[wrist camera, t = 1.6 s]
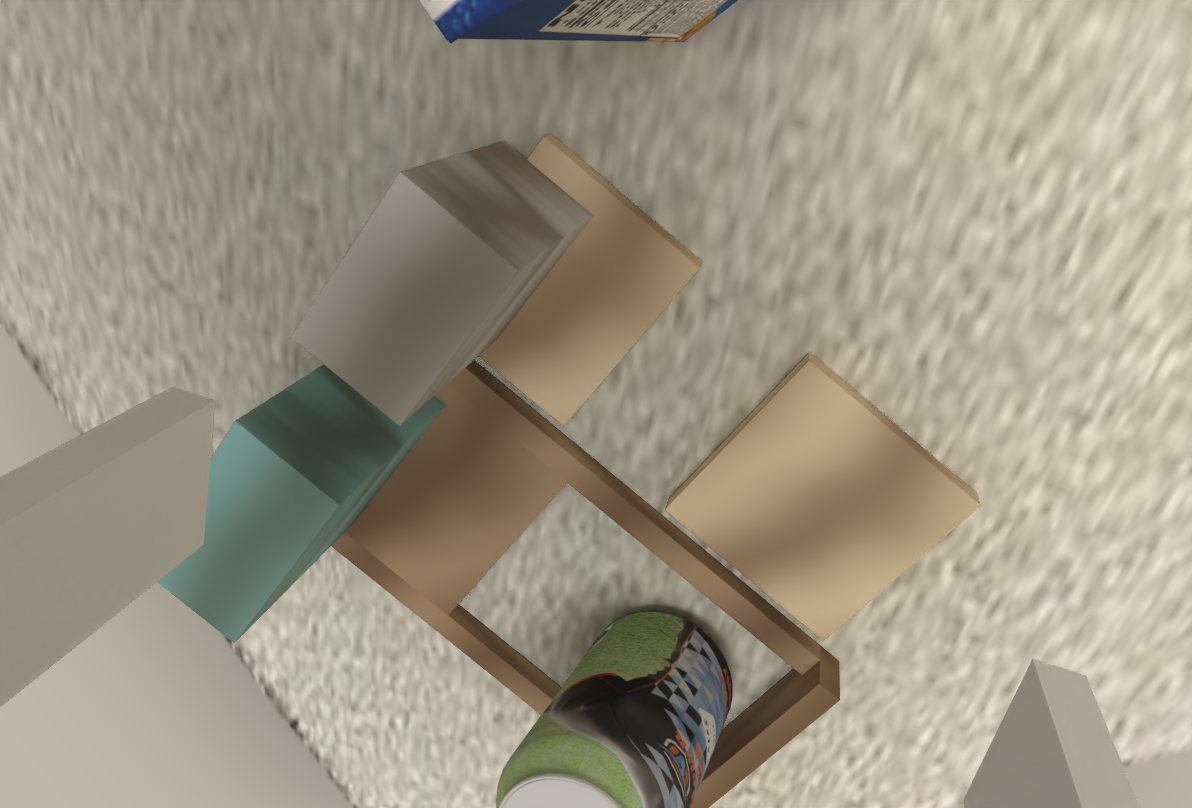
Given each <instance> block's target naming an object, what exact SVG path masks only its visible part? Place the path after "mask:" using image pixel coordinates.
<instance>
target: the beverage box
mask: <svg viewBox="0 0 1192 808" xmlns="http://www.w3.org/2000/svg"><path fill="white" fill-rule="evenodd" d="M419 1H420V2H421V3H422V5H423V6H424V8H425V9H426V11H427V12H428V14H429V15H430V16H431V18H432V19H433V21H434V22H435V24H436V25H437V27H438V28H439V29H440V31H441V32H442V34H443V35H444V37H445V38H446V39H447V40H448V41H449V42H450V43H452V42H454V41H455V40H457V39H524V40H591V41H659V42H684V41H685V40H687V39H688V38H689V37H691V36H692V35H693V34H694V33H696V32H697V31H698V30H700V29H701V28H702V27H704V26H705V25H706V24H708V23H709V22H710V21H711V20H713V19H714V18H715V17H717V16H718V15H719V14H721V13H722V12H723V11H725V10H726V9H727V8H728V7H730V6H731V5H732V4H734V3H735V2H736V1H738V0H419Z"/></svg>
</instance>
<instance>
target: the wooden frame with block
mask: <svg viewBox="0 0 1192 808" xmlns="http://www.w3.org/2000/svg"><path fill="white" fill-rule="evenodd" d="M567 482H568V483H569V484H570V485H571V486H572V487H574V488H575V489H576V490H577V491H579V492H580V493H581V494H582V495H583V496H585V497H586V498H587V499H588V500H590V501H591V502H592V503H593V504H594V505H596V506H597V507H598V508H599V509H600V510H602V511H603V512H604V513H605V514H607V515H608V516H609V517H610V518H611V519H613V520H614V521H615V522H616V523H618V524H619V525H620V526H621V527H622V528H624V529H625V530H626V531H627V532H628V533H630V534H631V535H632V536H633V537H635V538H636V539H637V540H638V541H639V542H641V543H642V544H643V545H644V546H645V547H647V548H648V549H649V550H650V551H652V552H653V553H654V554H655V555H656V556H658V557H659V558H660V559H661V560H663V561H664V562H665V563H666V564H667V565H669V566H670V567H671V568H672V569H673V570H675V571H676V572H677V573H678V574H680V575H681V576H682V577H683V578H684V579H686V580H687V581H688V582H689V583H691V584H692V585H693V586H694V587H695V588H697V589H698V590H699V591H700V592H701V593H703V594H704V595H705V596H706V597H708V598H709V599H710V600H711V601H712V602H714V603H715V604H716V605H717V606H718V607H720V608H721V609H722V610H723V611H725V612H726V613H727V614H728V615H729V616H731V617H732V618H733V619H734V620H736V621H737V622H738V623H739V624H740V625H742V626H743V627H744V628H745V629H746V630H748V631H749V632H750V633H751V634H753V635H754V636H755V637H756V638H757V639H759V640H760V641H761V642H762V643H764V644H765V645H766V646H767V647H768V648H770V649H771V650H772V651H773V652H774V653H776V654H777V655H778V656H779V657H781V658H782V659H783V660H784V661H785V662H787V663H788V664H789V665H790V666H791V667H793V668H794V669H793V670H792V671H791V672H789V673H788V674H787V675H786V676H785V677H784V678H782V679H781V680H780V681H779V682H778V683H777V684H775V685H774V686H773V687H772V688H771V689H770V690H768V691H767V692H766V693H765V694H764V695H763V696H761V697H760V698H759V699H758V700H757V701H756V702H754V703H753V704H752V705H751V706H750V707H749V708H747V709H746V710H745V711H744V712H743V713H742V714H740V715H739V716H738V717H737V718H736V719H735V720H733V721H732V722H731V723H730V724H729V725H728V726H726V727H725V728H724V729H723V730H722V731H721V733H720V735H719V738H718V740H717V743H716V745H715V748H714V750H713V753H712V756H711V758H710V761H709V763H708V766H707V768H706V771H705V773H704V776H703V778H702V781H701V783H700V786H699V789H698V791H697V794H696V796H695V799H694V801H693V804H692V806H691V808H709V807H710V806H711V805H712V804H713V803H715V802H716V801H717V800H718V799H720V798H721V797H722V796H723V795H724V794H726V793H727V792H728V791H729V790H731V789H732V788H733V787H734V786H735V785H737V784H738V783H739V782H740V781H742V780H743V779H744V778H745V777H746V776H748V775H749V774H750V773H751V772H753V771H754V770H755V769H756V768H757V767H759V766H760V765H761V764H762V763H764V762H765V761H766V760H767V759H768V758H770V757H771V756H772V755H773V754H775V753H776V752H777V751H778V750H780V749H781V748H782V747H783V746H784V745H786V744H787V743H788V742H789V741H791V740H792V739H793V738H794V737H795V736H797V735H798V734H799V733H800V732H802V731H803V730H804V729H805V728H806V727H808V726H809V725H810V724H811V723H813V722H814V721H815V720H816V719H817V718H819V717H820V716H821V715H822V714H824V713H825V712H826V711H827V710H828V709H830V708H831V707H832V706H833V705H835V704H836V703H837V702H838V701H839V700H840V679H839V661H838V660H837V659H835V658H834V657H833V656H832V655H831V654H829V653H828V652H827V651H826V650H824V649H823V648H822V647H821V646H820V645H818V644H817V643H816V642H815V641H814V640H812V639H811V638H810V637H809V636H808V635H806V634H805V633H804V632H803V631H801V630H800V629H799V628H798V627H797V626H795V625H794V624H793V623H792V622H791V621H789V620H788V619H787V618H786V617H784V616H783V615H782V614H781V613H780V612H778V611H777V610H776V609H775V608H774V607H772V606H771V605H770V604H769V603H768V602H766V601H765V600H764V599H763V598H761V597H760V596H759V595H758V594H757V593H755V592H754V591H753V590H752V589H751V588H749V587H748V586H747V585H746V584H744V583H743V582H742V581H741V580H740V579H738V578H737V577H736V576H735V575H734V574H732V573H731V572H730V571H729V570H728V569H726V568H725V567H724V566H723V565H721V564H720V563H719V562H718V561H717V560H715V559H714V558H713V557H712V556H711V555H709V554H708V553H707V552H706V551H704V550H703V549H702V548H701V547H700V546H698V545H697V544H696V543H695V542H694V541H692V540H691V539H690V538H689V537H688V536H686V535H685V534H684V533H683V532H681V531H680V530H679V529H678V528H677V527H675V526H674V525H673V524H672V523H671V522H669V521H668V520H667V519H666V518H664V517H663V516H662V515H661V514H660V513H658V512H657V511H656V510H655V509H654V508H652V507H651V506H650V505H649V504H648V503H646V502H645V501H644V500H643V499H641V498H640V497H639V496H638V495H637V494H635V493H634V492H633V491H632V490H631V489H629V488H628V487H627V486H626V485H624V484H623V483H622V482H621V481H620V480H618V479H617V478H616V477H615V476H614V475H612V474H611V473H610V472H609V471H608V470H606V469H605V468H604V467H603V466H601V465H600V464H599V463H598V462H597V461H595V460H594V459H593V458H592V457H591V456H589V455H588V454H587V453H586V452H584V451H583V450H582V449H581V448H580V447H578V446H577V445H576V444H575V443H574V442H572V441H571V440H570V439H569V438H568V437H566V436H565V435H564V434H563V433H561V432H560V431H559V430H558V429H557V428H555V427H554V426H553V425H552V424H551V423H549V422H548V421H547V420H546V419H544V418H543V417H542V416H541V415H540V414H538V413H537V412H536V411H535V410H534V409H532V408H531V407H530V406H529V405H528V404H526V403H525V402H524V401H523V400H521V399H520V398H519V397H518V396H517V395H515V394H514V393H513V392H512V391H511V390H509V389H508V388H507V387H506V386H504V385H503V384H502V383H501V382H500V381H498V380H497V379H496V378H495V377H494V376H492V375H491V374H490V373H489V372H488V371H486V370H485V369H484V368H483V367H481V366H480V365H479V364H478V363H477V362H475V361H474V360H473V361H472V362H471V363H470V364H469V365H468V366H467V367H465V368H464V369H463V370H462V371H461V372H460V373H459V374H458V375H456V376H455V377H454V378H453V379H452V380H451V381H450V382H449V383H447V384H446V385H445V386H444V387H443V388H442V389H441V390H440V391H439V392H437V393H436V394H435V395H434V396H433V397H432V398H431V399H430V400H428V401H427V402H426V403H425V404H424V405H423V406H422V407H421V408H419V409H418V410H417V411H416V412H415V413H414V414H413V415H412V416H410V417H409V418H408V419H407V420H406V421H405V422H404V423H403V424H401V425H400V426H399V425H398V424H397V423H395V422H394V421H393V420H392V419H390V418H389V417H388V416H387V415H386V414H384V413H383V412H382V411H381V410H379V409H378V408H377V407H376V406H374V405H373V404H372V403H371V402H370V401H368V400H367V399H366V398H365V397H363V396H362V395H361V394H360V393H359V392H357V391H356V390H355V389H354V388H352V387H351V386H350V385H349V384H348V383H346V382H345V381H344V380H343V379H341V378H340V377H339V376H338V375H337V374H335V373H334V372H333V371H332V370H330V369H329V368H328V367H327V366H325V365H323V366H321V367H319V368H318V369H316V370H315V371H313V372H312V373H310V374H308V375H307V376H305V377H304V378H302V379H301V380H299V381H297V382H296V383H294V384H293V385H291V386H290V387H288V388H286V389H285V390H283V391H282V392H280V393H279V394H277V395H275V396H274V397H272V398H271V399H269V400H268V401H266V402H264V403H263V404H261V405H260V406H258V407H257V408H255V409H253V410H252V411H250V412H249V413H247V414H245V415H244V416H242V417H241V418H239V419H238V420H236V421H235V422H234V424H233V425H232V427H231V428H230V430H229V431H228V433H227V434H226V436H225V437H224V439H223V440H222V442H221V443H220V445H219V446H218V448H217V449H216V451H215V452H214V454H213V455H212V457H211V461H210V473H209V485H208V498H207V510H206V523H205V535H204V545H203V546H201V547H200V548H199V549H198V550H196V551H195V552H194V553H192V554H191V555H190V556H189V557H187V558H186V559H185V560H184V561H182V562H181V563H180V564H179V565H177V566H176V567H175V568H174V569H172V570H171V571H170V572H169V573H167V574H166V575H165V576H164V577H162V578H161V579H160V580H159V581H157V582H158V583H159V584H161V585H162V586H163V587H164V588H166V589H167V590H168V591H169V592H170V593H172V594H173V595H174V596H175V597H177V598H178V599H180V600H181V601H182V602H183V603H184V604H186V605H187V606H188V607H189V608H191V609H192V610H193V611H194V612H196V613H197V614H198V615H199V616H201V617H202V618H203V619H205V620H206V621H207V622H208V623H210V624H211V625H212V626H213V627H215V628H216V629H217V630H218V631H220V632H221V633H222V634H223V635H225V636H226V637H227V638H228V639H230V640H231V641H232V642H233V643H235V642H236V641H237V640H238V639H239V638H240V637H241V636H242V635H243V634H244V633H245V632H246V631H247V630H248V629H249V628H250V627H251V626H252V625H253V624H254V623H255V622H256V621H257V620H258V619H259V618H260V617H261V616H262V615H263V614H264V613H265V612H266V611H267V610H268V609H269V608H270V607H271V606H272V605H273V604H274V603H275V602H276V601H277V600H278V599H279V598H280V597H281V596H282V595H283V594H284V593H285V592H286V591H287V590H288V589H289V587H290V586H291V585H292V584H293V583H294V582H295V581H296V580H297V579H298V578H299V577H300V576H301V575H302V574H303V573H304V572H305V571H306V570H307V569H308V568H309V567H310V566H311V565H312V564H313V563H314V562H315V561H316V560H317V559H318V558H319V557H320V556H321V555H322V554H323V553H324V552H325V551H326V550H327V549H328V548H329V547H330V546H332V547H333V548H334V549H336V550H337V551H338V552H339V553H341V554H342V555H343V556H344V557H345V558H347V559H348V560H349V561H350V562H352V563H353V564H354V565H355V566H357V567H358V568H359V569H360V570H362V571H363V572H364V573H365V574H367V575H368V576H369V577H370V578H372V579H373V580H374V581H375V582H377V583H378V584H379V585H380V586H382V587H383V588H384V589H385V590H387V591H388V592H389V593H390V594H391V595H393V596H394V597H395V598H396V599H398V600H399V601H400V602H401V603H403V604H404V605H405V606H406V607H408V608H409V609H410V610H411V611H413V612H414V613H415V614H416V615H418V616H419V617H420V618H421V619H423V620H424V621H425V622H426V623H428V624H429V625H430V626H431V627H432V628H434V629H435V630H436V631H437V632H439V633H440V634H441V635H442V636H444V637H445V638H446V639H447V640H449V641H450V642H451V643H452V644H454V645H455V646H456V647H457V648H459V649H460V650H461V651H462V652H464V653H465V654H466V655H467V656H469V657H470V658H471V659H472V660H474V661H475V662H476V663H477V664H478V665H480V666H481V667H482V668H483V669H485V670H486V671H487V672H488V673H490V674H491V675H492V676H493V677H495V678H496V679H497V680H498V681H500V682H501V683H502V684H503V685H505V686H506V687H507V688H508V689H510V690H511V691H512V692H513V693H515V694H516V695H517V696H518V697H519V698H521V699H522V700H523V701H524V702H526V703H527V704H528V705H529V706H531V707H532V708H533V709H534V710H536V711H537V712H538V713H539V714H541V715H542V714H543V712H544V711H545V710H546V708H547V707H548V705H549V704H550V703H551V701H552V700H553V699H554V697H555V696H556V695H557V693H558V692H559V690H560V689H561V687H560V686H558V685H557V684H556V683H555V682H553V681H552V680H551V679H550V678H548V677H547V676H546V675H545V674H544V673H542V672H541V671H540V670H539V669H537V668H536V667H535V666H534V665H532V664H531V663H530V662H529V661H527V660H526V659H525V658H524V657H522V656H521V655H520V654H519V653H518V652H516V651H515V650H514V649H513V648H511V647H510V646H509V645H508V644H506V643H505V642H504V641H503V640H501V639H500V638H499V637H498V636H496V635H495V634H494V633H493V632H492V631H490V630H489V629H488V628H487V627H485V626H484V625H483V624H482V623H480V622H479V621H478V620H477V619H475V618H474V617H473V616H472V615H470V614H469V613H468V612H467V611H466V610H464V609H463V608H462V607H461V606H459V605H458V604H459V603H460V602H461V600H462V599H463V598H464V597H465V596H466V595H467V594H468V593H469V591H470V590H471V589H472V588H473V587H474V586H475V585H476V584H477V582H478V581H479V580H480V579H481V578H482V577H483V576H484V575H485V573H486V572H487V571H488V570H489V569H490V568H491V567H492V566H493V565H494V563H495V562H496V561H497V560H498V559H499V558H500V557H501V556H502V554H503V553H504V552H505V551H506V550H507V549H508V548H509V547H510V545H511V544H512V543H513V542H514V541H515V540H516V539H517V538H518V536H519V535H520V534H521V533H522V532H523V531H524V530H525V529H526V527H527V526H528V525H529V524H530V523H531V522H532V521H533V520H534V518H535V517H536V516H537V515H538V514H539V513H540V512H541V511H542V510H543V508H544V507H545V506H546V505H547V504H548V503H549V502H550V501H551V499H552V498H553V497H554V496H555V495H556V494H557V493H558V492H559V490H560V489H561V488H562V487H563V486H564V485H565V484H566V483H567Z"/></svg>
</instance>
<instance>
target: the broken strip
mask: <svg viewBox="0 0 1192 808" xmlns="http://www.w3.org/2000/svg"><path fill="white" fill-rule="evenodd" d="M702 263H703V262H702V261H701V260H700V259H699V258H697V257H696V256H695V255H694V254H693V253H691V252H690V251H689V250H688V249H687V248H686V247H684V246H683V245H682V244H681V243H680V242H678V241H677V240H676V239H675V238H674V237H672V236H671V235H670V234H669V233H668V232H667V231H665V230H664V229H663V228H662V227H661V226H659V225H658V224H657V223H656V222H655V221H654V220H652V219H651V218H650V217H649V216H648V215H646V214H645V213H644V212H643V211H642V210H641V209H639V208H638V207H637V206H636V205H635V204H633V203H632V202H631V201H630V200H629V199H627V198H626V197H625V196H624V195H623V194H622V193H620V192H619V191H618V190H617V189H616V188H614V187H613V186H612V185H611V184H610V183H609V182H607V181H606V180H605V179H604V178H603V177H601V176H600V175H599V174H598V173H597V172H596V171H594V170H593V169H592V168H591V167H590V166H588V165H587V164H586V163H585V162H584V161H583V160H581V159H580V158H579V157H578V156H577V155H575V154H574V153H573V152H572V151H571V150H569V149H568V148H567V147H566V146H565V145H564V144H562V143H561V142H560V141H559V140H558V139H556V138H555V137H554V136H553V135H552V134H550V135H547V136H544V137H543V138H542V139H541V141H540V142H539V143H538V145H537V146H536V148H535V149H534V150H533V152H532V153H531V155H530V156H529V157H528V159H526V158H524V157H523V156H522V155H521V154H520V153H518V152H517V151H516V150H515V149H514V148H512V147H511V146H510V145H509V144H508V143H506V142H505V141H502V142H499V143H496V144H492V145H489V146H485V147H482V148H479V149H475V150H472V151H469V152H465V153H462V154H459V155H455V156H452V157H449V158H445V159H442V160H439V161H435V162H432V163H429V164H425V165H422V166H419V167H415V168H412V169H408V170H405V171H402V172H400V173H399V174H398V176H397V177H396V179H395V180H394V182H393V183H392V185H391V186H390V188H389V189H388V191H387V192H386V194H385V196H384V197H383V199H382V200H381V202H380V203H379V205H378V206H377V208H376V209H375V211H374V212H373V214H372V215H371V217H370V218H369V220H368V221H367V223H366V224H365V226H364V227H363V229H362V230H361V232H360V233H359V235H358V236H357V238H356V239H355V241H354V242H353V244H352V245H351V247H350V248H349V250H348V251H347V253H346V254H345V256H344V257H343V259H342V260H341V262H340V263H339V265H338V266H337V268H336V270H335V271H334V273H333V274H332V276H331V277H330V279H329V280H328V282H327V283H326V285H325V286H324V288H323V289H322V291H321V292H320V294H319V295H318V297H317V298H316V300H315V301H314V303H313V304H312V306H311V307H310V309H309V310H308V312H307V313H306V315H305V316H304V318H303V319H302V321H301V322H300V324H299V325H298V327H297V328H296V330H295V331H294V333H293V334H292V336H291V338H292V339H294V340H295V341H296V342H297V343H299V344H300V345H301V346H302V347H303V348H305V349H306V350H307V351H308V352H310V353H311V354H312V355H313V356H314V357H316V358H317V359H318V360H319V361H321V362H322V363H323V364H324V365H325V366H327V367H328V368H329V369H330V370H332V371H333V372H334V373H335V374H337V375H338V376H339V377H340V378H341V379H343V380H344V381H345V382H346V383H348V384H349V385H350V386H351V387H352V388H354V389H355V390H356V391H357V392H359V393H360V394H361V395H362V396H363V397H365V398H366V399H367V400H368V401H370V402H371V403H372V404H373V405H374V406H376V407H377V408H378V409H379V410H381V411H382V412H383V413H384V414H386V415H387V416H388V417H389V418H390V419H392V420H393V421H394V422H395V423H397V424H398V425H399V426H400V425H401V424H403V423H404V422H405V421H406V420H407V419H408V418H409V417H410V416H412V415H413V414H414V413H415V412H416V411H417V410H418V409H419V408H421V407H422V406H423V405H424V404H425V403H426V402H427V401H428V400H430V399H431V398H432V397H433V396H434V395H435V394H436V393H437V392H439V391H440V390H441V389H442V388H443V387H444V386H445V385H446V384H447V383H449V382H450V381H451V380H452V379H453V378H454V377H455V376H456V375H458V374H459V373H460V372H461V371H462V370H463V369H464V368H465V367H467V366H468V365H469V364H470V363H471V362H472V361H473V360H474V359H476V358H477V357H478V356H479V357H480V358H482V359H483V360H484V361H485V362H486V363H488V364H489V365H490V366H491V367H492V368H494V369H495V370H496V371H497V372H499V373H500V374H501V375H502V376H503V377H505V378H506V379H507V380H508V381H509V382H511V383H512V384H513V385H514V386H515V387H517V388H518V389H519V390H520V391H522V392H523V393H524V394H525V395H526V396H528V397H529V398H530V399H531V400H532V401H534V402H535V403H536V404H537V405H538V406H540V407H541V408H542V409H543V410H545V411H546V412H547V413H548V414H549V415H551V416H552V417H553V418H554V419H555V420H557V421H558V422H559V423H560V424H562V425H563V426H564V425H565V424H566V423H567V422H568V421H569V420H570V418H571V417H572V416H573V415H574V414H575V413H576V411H577V410H578V409H579V408H580V407H581V406H582V405H583V403H584V402H585V401H586V400H587V399H588V398H589V396H590V395H591V394H592V393H593V392H594V391H595V389H596V388H597V387H598V386H599V385H600V384H601V382H602V381H603V380H604V379H605V378H606V377H607V375H608V374H609V373H610V372H611V371H612V370H613V368H614V367H615V366H616V365H617V364H618V363H619V361H620V360H621V359H622V358H623V357H624V356H625V354H626V353H627V352H628V351H629V350H630V349H631V348H632V346H633V345H634V344H635V343H636V342H637V341H638V339H639V338H640V337H641V336H642V335H643V334H644V332H645V331H646V330H647V329H648V328H649V327H650V325H651V324H652V323H653V322H654V321H655V320H656V318H657V317H658V316H659V315H660V314H661V313H662V311H663V310H664V309H665V308H666V307H667V306H668V304H669V303H670V302H671V301H672V300H673V299H674V297H675V296H676V295H677V294H678V293H679V292H680V291H681V289H682V288H683V287H684V286H685V285H686V284H687V282H688V281H689V280H690V279H691V278H692V277H693V275H694V274H695V273H696V272H697V271H698V270H699V268H700V267H701V265H702ZM980 506H981V504H980V501H979V498H978V495H977V493H976V492H974V491H973V490H972V489H971V488H970V487H968V486H967V485H966V484H965V483H964V482H963V481H961V480H960V479H959V478H958V477H957V476H955V475H954V474H953V473H952V472H951V471H950V470H948V469H947V468H946V467H945V466H944V465H942V464H941V463H940V462H939V461H938V460H936V459H935V458H934V457H933V456H932V455H931V454H929V453H928V452H927V451H926V450H925V449H923V448H922V447H921V446H920V445H919V444H918V443H916V442H915V441H914V440H913V439H912V438H910V437H909V436H908V435H907V434H906V433H905V432H903V431H902V430H901V429H900V428H899V427H897V426H896V425H895V424H894V423H893V422H891V421H890V420H889V419H888V418H887V417H886V416H884V415H883V414H882V413H881V412H880V411H878V410H877V409H876V408H875V407H874V406H873V405H871V404H870V403H869V402H868V401H867V400H865V399H864V398H863V397H862V396H861V395H860V394H858V393H857V392H856V391H855V390H854V389H852V388H851V387H850V386H849V385H848V384H847V383H845V382H844V381H843V380H842V379H841V378H839V377H838V376H837V375H836V374H835V373H833V372H832V371H831V370H830V369H829V368H828V367H826V366H825V365H824V364H823V363H822V362H820V361H819V360H818V359H817V358H816V357H815V356H813V355H812V354H811V353H809V354H808V355H807V356H806V357H805V358H804V359H803V360H802V361H801V362H800V363H799V364H798V365H797V366H796V367H795V368H794V369H793V370H792V371H791V372H790V373H789V374H788V375H787V376H786V377H785V378H784V379H783V381H782V382H781V383H780V384H779V385H778V386H777V387H776V388H775V389H774V390H773V391H772V392H771V393H770V394H769V395H768V396H767V397H766V398H765V399H764V400H763V401H762V402H761V403H760V404H759V405H758V406H757V408H756V409H755V410H754V411H753V412H752V413H751V414H750V415H749V416H748V417H747V418H746V419H745V420H744V421H743V422H742V423H741V424H740V425H739V426H738V427H737V428H736V429H735V430H734V431H733V432H732V433H731V435H730V436H729V437H728V438H727V439H726V440H725V441H724V442H723V443H722V444H721V445H720V446H719V447H718V448H717V449H716V450H715V451H714V452H713V453H712V454H711V455H710V456H709V457H708V458H707V459H706V460H705V461H704V463H703V464H702V465H701V466H700V467H699V468H698V469H697V470H696V471H695V472H694V473H693V474H692V475H691V476H690V477H689V478H688V479H687V480H686V481H685V482H684V483H683V484H682V485H681V486H680V487H679V488H678V490H677V491H676V492H675V493H674V494H673V495H672V496H671V497H670V498H669V499H668V502H667V505H666V508H665V510H666V511H667V512H668V513H669V514H671V515H672V516H673V517H674V518H675V519H677V520H678V521H679V522H680V523H681V524H683V525H684V526H685V527H686V528H687V529H689V530H690V531H691V532H692V533H694V534H695V535H696V536H697V537H698V538H700V539H701V540H702V541H703V542H704V543H706V544H707V545H708V546H709V547H710V548H712V549H713V550H714V551H715V552H717V553H718V554H719V555H720V556H721V557H723V558H724V559H725V560H726V561H727V562H729V563H730V564H731V565H732V566H734V567H735V568H736V569H737V570H738V571H740V572H741V573H742V574H743V575H744V576H746V577H747V578H748V579H749V580H750V581H752V582H753V583H754V584H755V585H757V586H758V587H759V588H760V589H761V590H763V591H764V592H765V593H766V594H767V595H769V596H770V597H771V598H772V599H773V600H775V601H776V602H777V603H778V604H780V605H781V606H782V607H783V608H784V609H786V610H787V611H788V612H789V613H790V614H792V615H793V616H794V617H795V618H797V619H798V620H799V621H800V622H801V623H803V624H804V625H805V626H806V627H807V628H809V629H810V630H811V631H812V632H813V633H815V634H816V635H817V636H818V637H820V638H821V639H822V640H823V641H824V640H825V639H826V638H828V637H829V636H830V635H831V634H832V633H833V632H835V631H836V630H837V629H838V628H839V627H840V626H842V625H843V624H844V623H845V622H846V621H847V620H849V619H850V618H851V617H852V616H853V615H854V614H856V613H857V612H858V611H859V610H860V609H861V608H862V607H864V606H865V605H866V604H867V603H868V602H869V601H871V600H872V599H873V598H874V597H875V596H876V595H878V594H879V593H880V592H881V591H882V590H883V589H885V588H886V587H887V586H888V585H889V584H890V583H892V582H893V581H894V580H895V579H896V578H897V577H899V576H900V575H901V574H902V573H903V572H904V571H905V570H907V569H908V568H909V567H910V566H911V565H912V564H914V563H915V562H916V561H917V560H918V559H919V558H921V557H922V556H923V555H924V554H925V553H926V552H928V551H929V550H930V549H931V548H932V547H933V546H935V545H936V544H937V543H938V542H939V541H940V540H942V539H943V538H944V537H945V536H946V535H947V534H949V533H950V532H951V531H952V530H953V529H954V528H955V527H957V526H958V525H959V524H960V523H961V522H962V521H964V520H965V519H966V518H967V517H968V516H969V515H971V514H972V513H973V512H974V511H975V510H976V509H978V508H979V507H980Z"/></svg>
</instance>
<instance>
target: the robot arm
mask: <svg viewBox="0 0 1192 808" xmlns="http://www.w3.org/2000/svg"><path fill="white" fill-rule="evenodd" d="M214 411H215V400H212V399H209V398H206V397H203V396H199V395H196V394H193V393H190V392H187V391H184V390H180V389H177V388H174V387H172V388H170V389H168V390H166V391H164V392H162V393H160V394H159V395H157V396H155V397H153V398H151V399H149V400H147V401H145V402H143V403H141V404H139V405H137V406H136V407H134V408H132V409H130V410H128V411H126V412H124V413H122V414H120V415H118V416H116V417H114V418H113V419H111V420H109V421H107V422H105V423H103V424H101V425H99V426H97V427H95V428H93V429H91V430H90V431H88V432H86V433H84V434H82V435H80V436H78V437H76V438H74V439H72V440H70V441H68V442H67V443H65V444H63V445H61V446H59V447H57V448H55V449H53V450H51V451H49V452H47V453H45V454H44V455H42V456H40V457H38V458H36V459H34V460H33V461H30V462H28V463H26V464H24V465H22V466H21V467H19V468H17V469H15V470H13V471H11V472H9V473H7V474H5V475H3V476H1V477H0V707H1V706H2V705H4V704H5V703H6V702H7V701H9V700H10V699H11V698H12V697H14V696H15V695H16V694H17V693H19V692H20V691H21V690H22V689H24V688H25V687H26V686H27V685H29V684H30V683H31V682H32V681H34V680H35V679H36V678H37V677H39V676H40V675H41V674H42V673H43V672H45V671H46V670H47V669H49V668H50V667H51V666H52V665H54V664H55V663H56V662H57V661H59V660H60V659H61V658H62V657H64V656H65V655H66V654H67V653H69V652H70V651H71V650H72V649H74V648H75V647H76V646H77V645H79V644H80V643H81V642H82V641H84V640H85V639H86V638H87V637H89V636H90V635H91V634H92V633H94V632H95V631H96V630H97V629H98V628H100V627H101V626H102V625H103V624H105V623H106V622H107V621H109V620H110V619H111V618H112V617H114V616H115V615H116V614H117V613H119V612H120V611H121V610H122V609H124V608H125V607H126V606H127V605H129V604H130V603H131V602H132V601H134V600H135V599H136V598H137V597H139V596H140V595H141V594H142V593H144V592H145V591H146V590H147V589H149V588H150V587H151V586H152V585H154V584H155V583H156V582H157V581H159V580H160V579H161V578H162V577H164V576H165V575H166V574H167V573H169V572H170V571H171V570H172V569H174V568H175V567H176V566H177V565H179V564H180V563H181V562H182V561H184V560H185V559H186V558H187V557H189V556H190V555H191V554H192V553H194V552H195V551H196V550H198V549H199V548H200V547H201V546H203V545H204V535H205V523H206V510H207V498H208V485H209V473H210V461H211V448H212V436H213V424H214ZM963 801H964V806H965V808H1140V807H1139V805H1138V802H1137V800H1136V797H1135V795H1134V792H1133V790H1132V787H1131V785H1130V782H1129V780H1128V777H1127V775H1126V773H1125V770H1124V768H1123V765H1122V763H1121V760H1120V758H1119V755H1118V753H1117V750H1116V748H1115V746H1114V743H1113V741H1112V738H1111V736H1110V733H1109V731H1108V728H1107V726H1106V723H1105V721H1104V719H1103V716H1102V714H1101V711H1100V709H1099V706H1098V704H1097V701H1096V699H1095V696H1094V694H1093V692H1092V689H1091V687H1090V684H1089V682H1088V679H1087V677H1086V676H1085V675H1082V674H1079V673H1076V672H1073V671H1069V670H1066V669H1063V668H1060V667H1057V666H1054V665H1050V664H1047V663H1044V662H1041V661H1038V660H1035V659H1032V661H1031V663H1030V665H1029V667H1028V669H1027V671H1026V674H1025V676H1024V678H1023V680H1022V682H1021V684H1020V686H1019V688H1018V690H1017V692H1016V694H1015V696H1014V698H1013V700H1012V702H1011V704H1010V706H1009V708H1008V710H1007V712H1006V714H1005V716H1004V718H1003V720H1002V722H1001V724H1000V726H999V729H998V731H997V733H996V735H995V737H994V739H993V741H992V743H991V745H990V747H989V749H988V751H987V753H986V755H985V757H984V759H983V761H982V763H981V765H980V767H979V769H978V771H977V773H976V775H975V777H974V779H973V781H972V784H971V786H970V788H969V790H968V792H967V794H966V796H965V798H964V800H963Z"/></svg>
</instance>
